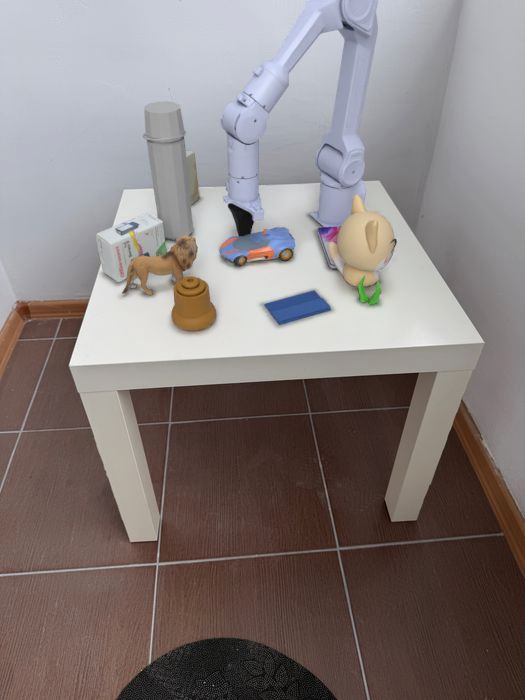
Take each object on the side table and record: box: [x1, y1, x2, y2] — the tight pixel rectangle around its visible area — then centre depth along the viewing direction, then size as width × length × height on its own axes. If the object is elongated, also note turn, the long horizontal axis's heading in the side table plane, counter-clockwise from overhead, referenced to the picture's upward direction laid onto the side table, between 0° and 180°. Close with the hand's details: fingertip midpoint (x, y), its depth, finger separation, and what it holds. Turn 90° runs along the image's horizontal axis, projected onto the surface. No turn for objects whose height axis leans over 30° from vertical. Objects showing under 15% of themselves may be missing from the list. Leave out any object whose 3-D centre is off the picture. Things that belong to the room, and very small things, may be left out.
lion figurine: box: [121, 235, 199, 296], centre depth 90 cm, size 15×5×9 cm, turn 116°
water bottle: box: [142, 100, 194, 241], centre depth 99 cm, size 9×8×25 cm
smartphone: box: [316, 226, 347, 269], centre depth 103 cm, size 7×1×15 cm
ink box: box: [95, 212, 168, 283], centre depth 95 cm, size 9×5×12 cm
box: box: [186, 149, 200, 206], centre depth 115 cm, size 5×4×11 cm
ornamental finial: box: [170, 275, 217, 332], centre depth 83 cm, size 8×8×8 cm
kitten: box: [328, 195, 398, 306], centre depth 89 cm, size 15×10×15 cm
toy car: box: [218, 226, 296, 267], centre depth 99 cm, size 8×15×5 cm, turn 105°
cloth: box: [264, 289, 332, 326], centre depth 88 cm, size 10×6×1 cm, turn 115°
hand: (244, 237), depth 103 cm, fingers closed
